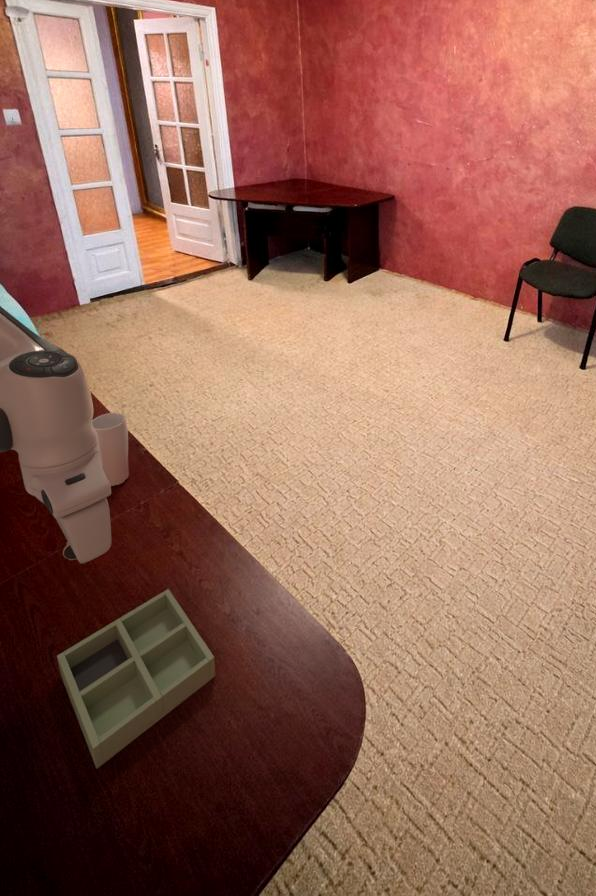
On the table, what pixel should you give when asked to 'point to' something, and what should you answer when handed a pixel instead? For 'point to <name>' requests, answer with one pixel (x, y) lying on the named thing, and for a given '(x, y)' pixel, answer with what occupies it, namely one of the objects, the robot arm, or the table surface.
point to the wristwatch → (69, 552)
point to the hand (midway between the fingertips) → (78, 545)
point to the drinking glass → (113, 445)
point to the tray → (134, 673)
